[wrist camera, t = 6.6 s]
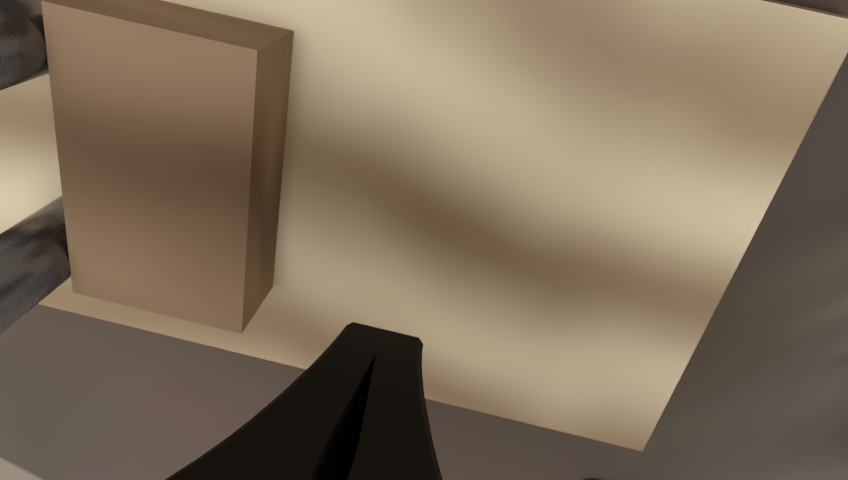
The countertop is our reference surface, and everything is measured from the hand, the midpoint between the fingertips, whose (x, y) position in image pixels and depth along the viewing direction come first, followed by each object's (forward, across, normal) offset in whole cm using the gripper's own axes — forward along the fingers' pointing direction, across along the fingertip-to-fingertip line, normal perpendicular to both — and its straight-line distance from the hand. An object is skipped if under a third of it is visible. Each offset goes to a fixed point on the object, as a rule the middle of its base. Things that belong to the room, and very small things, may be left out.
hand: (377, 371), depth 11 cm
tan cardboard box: (+7, +7, 0) cm, 10 cm away
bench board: (+8, +3, 0) cm, 9 cm away
